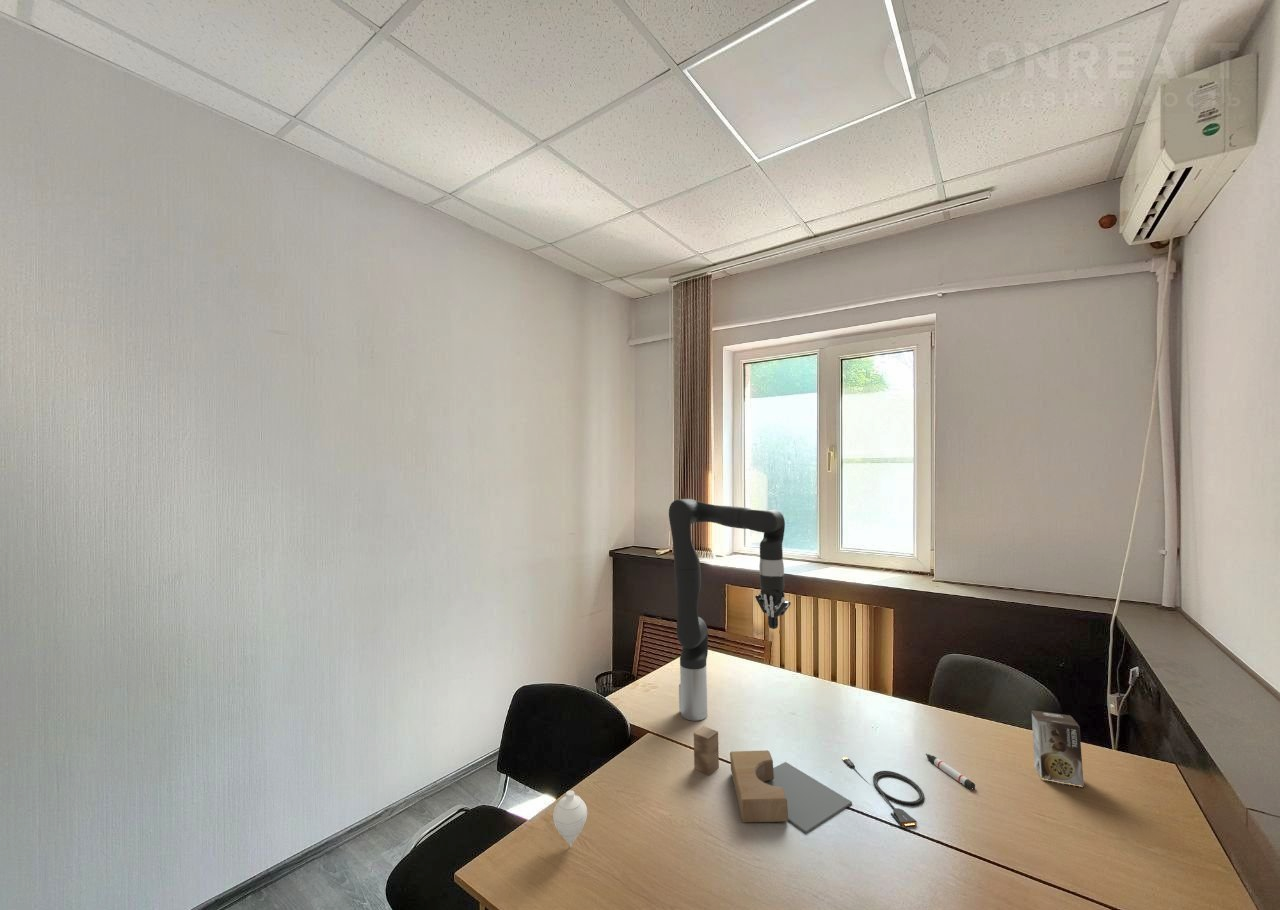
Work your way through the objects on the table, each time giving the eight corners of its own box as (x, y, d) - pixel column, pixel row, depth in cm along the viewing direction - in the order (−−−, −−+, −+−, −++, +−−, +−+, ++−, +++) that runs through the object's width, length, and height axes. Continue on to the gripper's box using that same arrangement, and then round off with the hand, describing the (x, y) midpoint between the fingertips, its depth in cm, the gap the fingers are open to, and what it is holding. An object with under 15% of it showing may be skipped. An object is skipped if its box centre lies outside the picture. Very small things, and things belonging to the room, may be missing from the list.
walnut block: (694, 768, 139) (693, 732, 139) (704, 760, 143) (703, 725, 143) (709, 775, 136) (708, 738, 136) (718, 767, 139) (718, 731, 140)
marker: (975, 789, 128) (975, 782, 128) (969, 791, 128) (969, 783, 128) (928, 757, 143) (928, 750, 143) (922, 758, 143) (922, 751, 143)
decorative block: (769, 749, 136) (787, 799, 116) (770, 770, 136) (788, 823, 116) (729, 750, 137) (741, 799, 117) (730, 770, 137) (742, 823, 117)
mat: (740, 786, 131) (740, 784, 131) (785, 763, 141) (785, 761, 141) (805, 833, 113) (805, 831, 113) (851, 803, 123) (851, 801, 123)
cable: (885, 757, 144) (885, 752, 144) (956, 826, 116) (955, 819, 116) (841, 761, 142) (841, 755, 142) (902, 830, 114) (902, 824, 114)
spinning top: (558, 864, 105) (557, 807, 106) (550, 840, 112) (549, 787, 113) (592, 853, 108) (591, 797, 109) (582, 830, 115) (581, 778, 116)
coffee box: (1075, 775, 133) (1071, 715, 134) (1084, 789, 127) (1081, 726, 128) (1033, 767, 137) (1030, 709, 138) (1040, 780, 131) (1037, 719, 132)
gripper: (748, 571, 158) (749, 625, 157) (780, 577, 147) (781, 636, 146) (764, 568, 162) (765, 621, 161) (796, 574, 151) (798, 631, 150)
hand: (773, 628), depth 154 cm, fingers closed
